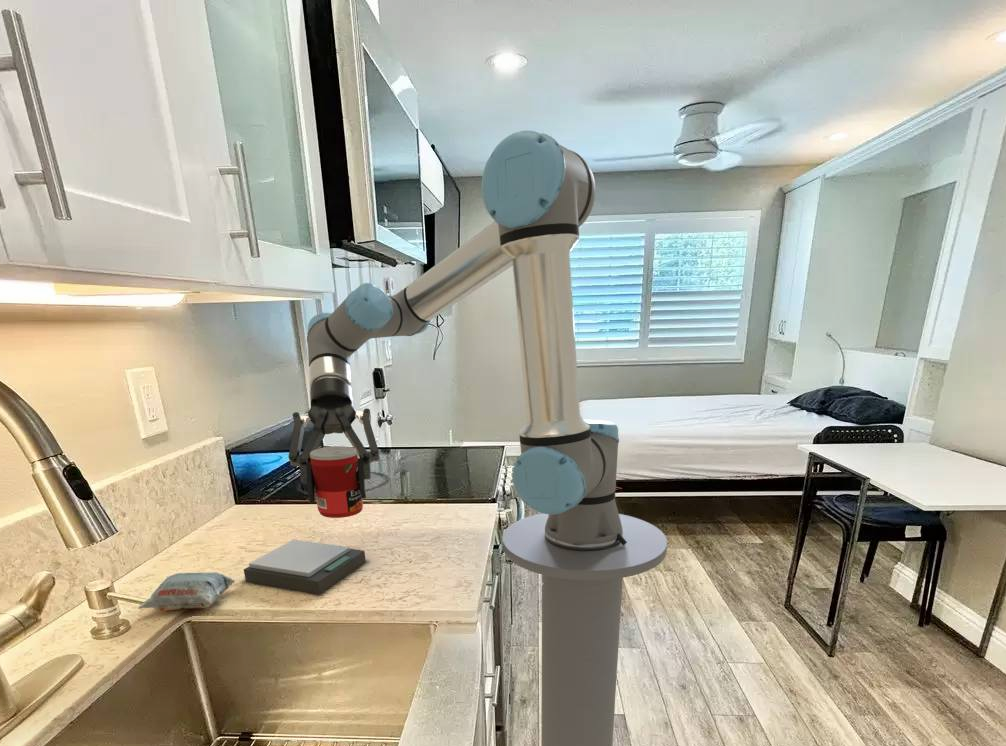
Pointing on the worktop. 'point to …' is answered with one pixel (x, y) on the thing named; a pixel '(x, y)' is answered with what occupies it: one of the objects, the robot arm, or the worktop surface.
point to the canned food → (336, 481)
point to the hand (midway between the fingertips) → (337, 496)
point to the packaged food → (188, 591)
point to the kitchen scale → (304, 566)
